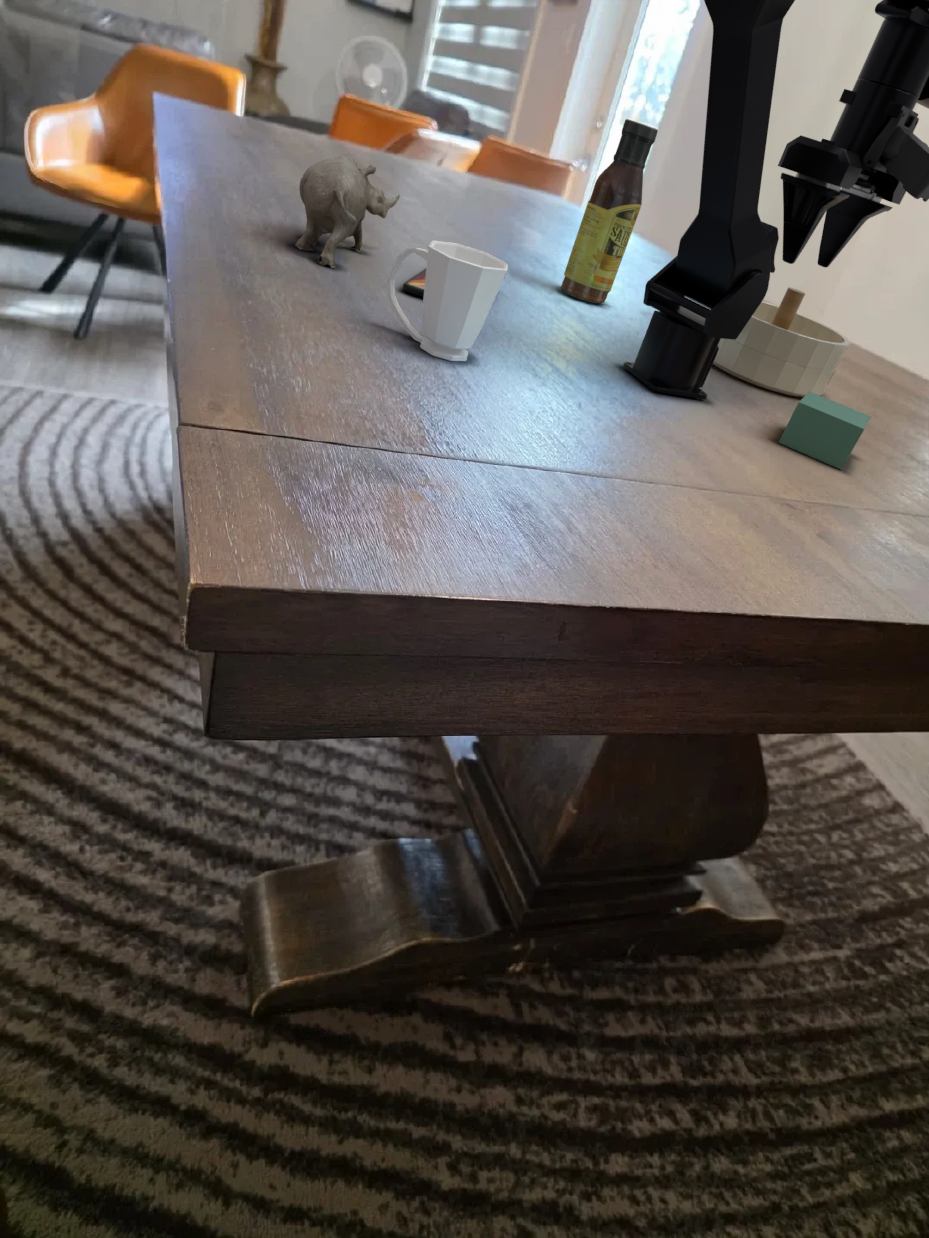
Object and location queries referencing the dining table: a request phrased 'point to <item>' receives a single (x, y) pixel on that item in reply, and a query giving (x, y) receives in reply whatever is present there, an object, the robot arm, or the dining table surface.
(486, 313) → the cup
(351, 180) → the rhinoceros figurine
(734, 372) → the bowl
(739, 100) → the robot arm
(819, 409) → the stand
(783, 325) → the wooden peg
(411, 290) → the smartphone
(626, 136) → the sauce bottle
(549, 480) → the dining table surface
